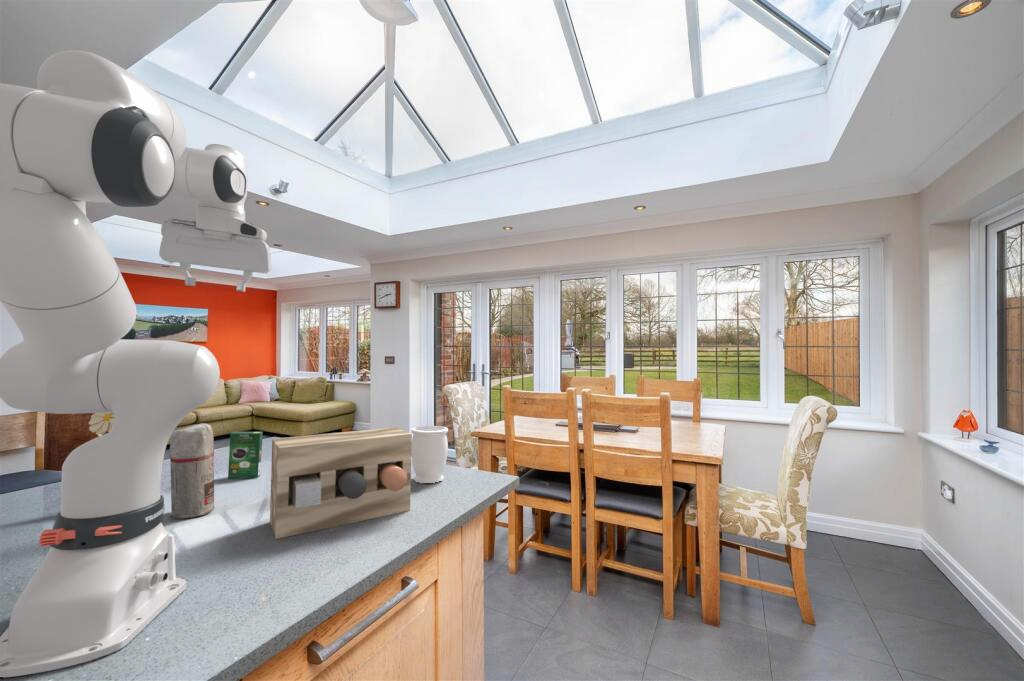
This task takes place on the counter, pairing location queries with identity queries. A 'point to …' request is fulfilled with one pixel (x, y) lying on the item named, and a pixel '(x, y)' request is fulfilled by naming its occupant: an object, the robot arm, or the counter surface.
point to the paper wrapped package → (192, 471)
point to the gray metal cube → (306, 491)
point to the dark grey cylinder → (351, 483)
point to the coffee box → (245, 454)
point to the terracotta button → (392, 477)
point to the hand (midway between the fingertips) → (215, 288)
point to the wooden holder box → (328, 462)
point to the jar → (429, 453)
